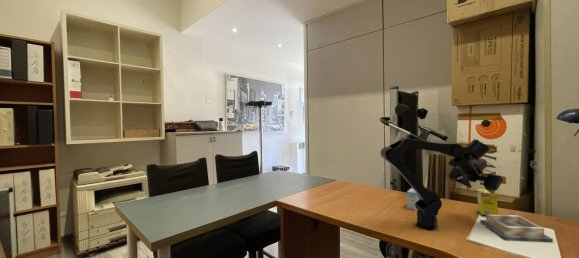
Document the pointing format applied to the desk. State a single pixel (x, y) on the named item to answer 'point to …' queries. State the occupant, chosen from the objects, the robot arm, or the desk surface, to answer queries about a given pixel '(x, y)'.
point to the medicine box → (411, 199)
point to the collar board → (515, 228)
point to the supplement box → (487, 203)
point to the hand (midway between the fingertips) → (481, 190)
